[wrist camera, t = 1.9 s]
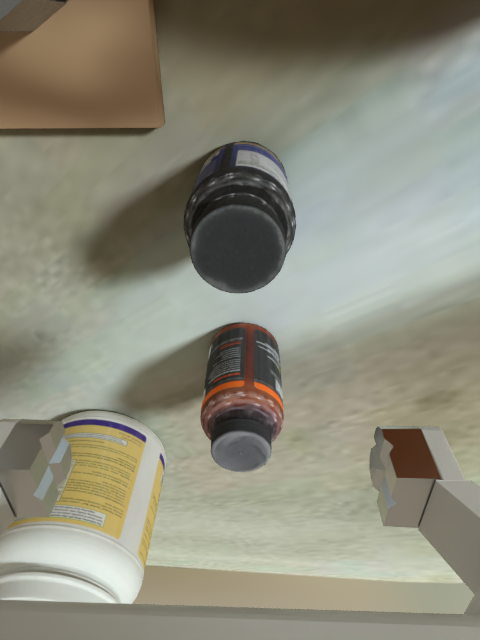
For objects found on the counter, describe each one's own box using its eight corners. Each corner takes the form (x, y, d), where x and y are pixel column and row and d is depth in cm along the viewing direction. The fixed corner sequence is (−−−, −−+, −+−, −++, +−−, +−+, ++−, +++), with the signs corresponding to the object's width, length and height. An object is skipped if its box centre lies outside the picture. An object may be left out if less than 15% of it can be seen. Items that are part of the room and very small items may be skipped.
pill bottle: (218, 238, 33) (202, 320, 23) (184, 158, 30) (150, 215, 20) (298, 211, 31) (315, 286, 22) (272, 124, 28) (278, 169, 19)
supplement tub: (25, 432, 45) (-83, 615, 31) (116, 386, 41) (41, 572, 27) (105, 497, 50) (45, 678, 36) (192, 462, 47) (163, 650, 32)
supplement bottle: (197, 354, 39) (176, 458, 29) (235, 307, 36) (226, 406, 26) (252, 385, 40) (250, 493, 31) (293, 342, 38) (305, 447, 28)
